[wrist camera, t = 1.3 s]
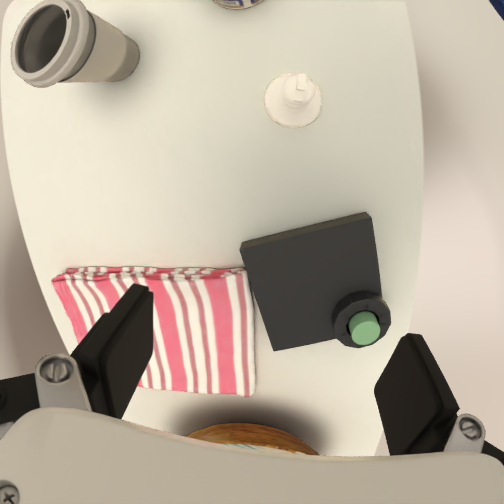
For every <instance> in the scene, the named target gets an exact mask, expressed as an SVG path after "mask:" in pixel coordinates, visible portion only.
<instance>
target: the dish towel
mask: <svg viewBox="0 0 504 504" xmlns="http://www.w3.org/2000/svg"><path fill="white" fill-rule="evenodd" d="M51 283H52V286H53V288H54V290H55V292H56V294H57V295H58V297H59V299H60V301H61V303H62V305H63V307H64V310H65V312H66V314H67V316H68V317H69V319H70V321H71V323H72V326H73V330H74V333H75V336H76V339H77V341H78V343H80V342H81V341H82V339H83V338H84V337H85V336H86V334H87V333H88V332H89V330H90V329H91V328H92V327H93V325H94V324H95V323H96V322H97V320H98V319H99V318H100V317H101V316H102V315H103V314H104V313H105V312H108V313H109V312H110V311H111V309H112V308H113V307H114V306H115V304H116V303H117V302H118V301H119V300H120V298H121V297H122V296H123V295H124V293H125V292H126V291H127V290H128V289H129V287H130V286H131V285H132V284H133V283H136V284H140V285H144V286H148V287H149V291H152V292H153V294H154V301H153V354H152V357H151V359H150V361H149V363H148V365H147V367H146V369H145V371H144V373H143V375H142V377H141V379H140V381H139V383H138V385H137V386H139V387H144V388H148V389H155V390H169V391H185V392H189V393H200V394H235V395H239V396H242V397H250V396H251V395H253V394H254V393H255V391H256V389H255V380H256V378H255V377H256V376H255V364H254V308H253V300H252V294H251V289H250V285H249V277H248V274H247V271H246V269H244V268H234V269H212V268H175V269H158V268H153V267H149V268H147V267H137V266H136V267H121V268H108V267H88V268H85V267H83V268H79V269H66V273H62V274H60V275H57V276H56V277H55V278H53V279H52V280H51Z"/></svg>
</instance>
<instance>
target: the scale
mask: <svg viewBox="0 0 504 504" xmlns="http://www.w3.org/2000/svg"><path fill="white" fill-rule="evenodd" d="M240 253H241V256H242V259H243V262H244V265H245V268H246V271H247V274H248V277H249V280H250V283H251V286H252V289H253V292H254V295H255V298H256V301H257V304H258V307H259V310H260V312H261V315H262V318H263V321H264V324H265V327H266V330H267V333H268V336H269V339H270V342H271V345H272V348H273V351H279V350H284V349H289V348H294V347H299V346H304V345H309V344H314V343H318V342H323V341H327V340H332V339H336V338H337V339H338V340H339V341H340V342H341V343H343V344H344V345H345V346H349V347H354V348H361V347H365V346H369V345H373V344H374V343H375V342H377V341H378V340H379V339H381V338H382V337H383V336H385V334H386V332H387V330H388V328H389V326H390V325H391V316H390V310H389V308H388V306H387V304H386V302H385V301H384V300H383V299H382V292H381V283H380V274H379V266H378V258H377V251H376V244H375V237H374V230H373V224H372V218H371V217H370V216H369V215H368V214H367V213H366V212H364V213H359V214H355V215H351V216H347V217H343V218H339V219H335V220H331V221H326V222H322V223H318V224H314V225H310V226H306V227H302V228H298V229H294V230H290V231H286V232H282V233H278V234H274V235H270V236H266V237H262V238H258V239H254V240H250V241H246V242H242V244H241V247H240ZM362 311H368V312H371V313H373V314H374V315H375V317H376V319H377V322H378V324H379V326H380V334H379V336H378V338H377V339H376V340H375V341H374V342H372V343H370V344H367V345H359V344H357V343H355V342H354V341H353V339H352V337H351V333H350V330H349V321H350V319H351V318H352V317H353V316H354V315H355V314H357V313H359V312H362Z"/></svg>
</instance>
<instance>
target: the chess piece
mask: <svg viewBox="0 0 504 504" xmlns="http://www.w3.org/2000/svg"><path fill="white" fill-rule="evenodd" d="M264 104H265V108H266V111H267V113H268V114H269V116H270V117H271V118H272V119H273V120H274V121H275V122H276V123H278V124H280V125H282V126H285V127H288V128H300V127H304V126H306V125H308V124H310V123H311V122H313V121H314V120H315V119H316V117H317V116H318V115H319V113H320V110H321V107H322V97H321V93H320V90H319V88H318V87H317V85H316V84H315V83H314V82H313V81H312V80H311V79H309V78H308V77H306V74H303V73H298V74H296V73H288V74H284V75H281V76H279V77H277V78H275V79H274V80H273V81H272V82H271V83H270V84H269V86H268V87H267V89H266V92H265V96H264Z"/></svg>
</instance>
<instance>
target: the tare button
mask: <svg viewBox="0 0 504 504" xmlns="http://www.w3.org/2000/svg"><path fill="white" fill-rule="evenodd" d="M349 330H350V333H351V337H352V339H353V341H354V342H355V343H357V344H359V345H367V344H370V343H372V342H374V341H375V340H376V339H377V338H378V336H379V334H380V326H379V324H378V322H377V319H376V317H375V315H374V314H373V313H371V312H368V311H362V312H359V313H357V314H355V315H354V316H353V317H352V318H351V319H350V321H349Z"/></svg>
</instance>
